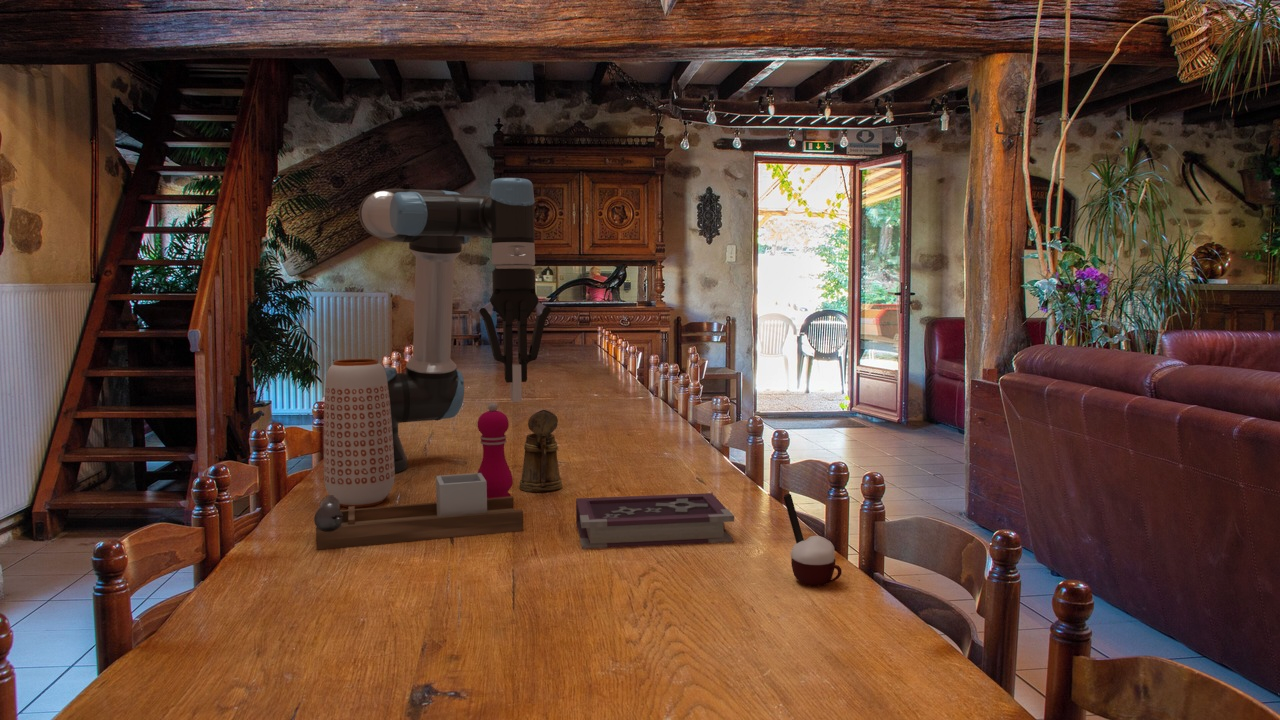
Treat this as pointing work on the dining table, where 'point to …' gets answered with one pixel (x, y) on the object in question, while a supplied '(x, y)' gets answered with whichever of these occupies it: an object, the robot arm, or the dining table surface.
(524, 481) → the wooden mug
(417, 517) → the bay
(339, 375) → the planter
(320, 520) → the dark grey rounded lump
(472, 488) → the box
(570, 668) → the dining table surface
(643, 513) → the book
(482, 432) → the pepper mill
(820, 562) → the cocoa
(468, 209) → the robot arm
